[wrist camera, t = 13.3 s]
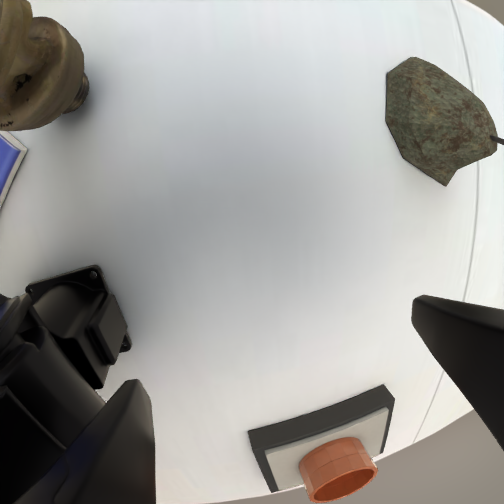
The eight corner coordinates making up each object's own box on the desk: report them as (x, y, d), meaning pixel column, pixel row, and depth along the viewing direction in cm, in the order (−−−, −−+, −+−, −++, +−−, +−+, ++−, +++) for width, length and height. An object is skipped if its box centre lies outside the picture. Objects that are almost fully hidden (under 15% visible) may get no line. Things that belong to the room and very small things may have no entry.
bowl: (300, 480, 25) (311, 508, 21) (294, 452, 22) (307, 486, 19) (359, 459, 25) (373, 484, 22) (363, 427, 23) (381, 457, 19)
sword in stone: (358, 111, 17) (512, 92, 6) (406, 45, 16) (531, 10, 5) (438, 202, 21) (562, 245, 9) (474, 135, 19) (586, 149, 8)
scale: (267, 478, 28) (272, 497, 25) (247, 430, 24) (253, 455, 21) (374, 440, 30) (385, 457, 27) (383, 383, 26) (398, 402, 23)
